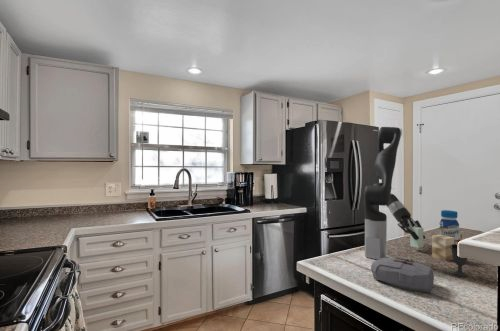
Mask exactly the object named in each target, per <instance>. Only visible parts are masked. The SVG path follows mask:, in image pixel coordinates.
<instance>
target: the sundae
mask: <svg viewBox="0 0 500 331" xmlns="http://www.w3.org/2000/svg"><path fill="white" fill-rule="evenodd" d="M462 236H463V235H460V234H459V237H460V238H459V239H458V240H457V241H456V242H454V244H453V245H451V246H450V248H451V250H452V256H453V262H454V264H456V265H457V270H456V271H451V274H452V275H455V276H456V277H463V278H467V277H468V276H469V275H468V274H467V273H465V272H463V270H462V269H463V266H465V265H466V264H467V262H468V258H460V257H458V256H457V244H458V242H459V241H461V238H463V237H462Z"/></svg>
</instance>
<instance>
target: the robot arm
mask: <svg viewBox="0 0 500 331" xmlns="http://www.w3.org/2000/svg"><path fill="white" fill-rule="evenodd" d="M401 130H402V129H400V128H399V127H397V126H394V127H393V126H381V127H380V128H379V129H378V133H377V155H376V157H375V160H374V164H373V165H374V170H375V172H376V174H375V175H376V178H377V179H378V180H381V182H376V183H373V184H372V185H371V184H370V185H369V184H368V185H366V186H365V187H364V190H363V201H364V202H363V203H364V256H365V257H366V258H368V259H373V260H378V259H381V258H387V251H388V250H387V249H388V248H387V247H388V246H387V239H388V238H387V235H388V234H387V230H388V229H387V228H388V227H387V225H388V222H387V218H388V217H387V214H386V213H385V212H382V211H380V210H378V209H377V208H375V206H386V207H387V209H388V210H389V212H390V213H391V215H392V216H393V217H394V219H395V220H396V221H397V222H398V223H397V226H398V227H399V228H401V230H402V231H403V232H404V233H405V234H409V235H410V234H411V235H412V237H413V238H414V239H415V240H418V239H419V237H418V236H417V234H416V233H415V232H414V230H413V229H412V227H419V228H423V227H422V225H421V223H420V221H419V220H414V219H413V218H412V214H411V212H410V211H409V210H408V209H407V208H406V207H405V205H404V204H403V203H402V202H401V201H400V199H399V198H398V197H397V196H396V195H395V194H393V193H392V185H393V183H392V182H393V176H394V171H395V167H396V161H397V154H398V148H399V145H400V140H401V136H402V131H401ZM384 144H386V145H387V144H388V146H387V147H385V145H384ZM425 238H426V236H425V235H424V234H423V240H425Z"/></svg>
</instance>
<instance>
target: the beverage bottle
mask: <svg viewBox="0 0 500 331" xmlns="http://www.w3.org/2000/svg"><path fill="white" fill-rule="evenodd" d="M440 216H441V219H440V221H439V223H438V224H439V227H438V230H439V235H444V236H449V237H453V238H454V242H456V241H457V240H458V239H460V231H461V230H460V223H459V221H458V220H457V218H458V211H456V210H447V209H444V210H443V209H441V211H440Z"/></svg>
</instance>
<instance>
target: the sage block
mask: <svg viewBox="0 0 500 331" xmlns="http://www.w3.org/2000/svg"><path fill="white" fill-rule="evenodd" d="M412 229H413V230H414V232H415V233H416V234H417V236H418V237H419V239H418V240H415V239H414V238H413V237H412V235H411V234H409V235H410V240H409V245H410V247H413V248H417V249H420V248H424V239H423V235H424V228H423V227H422V228H419V227H415V226H414V227H412Z"/></svg>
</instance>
